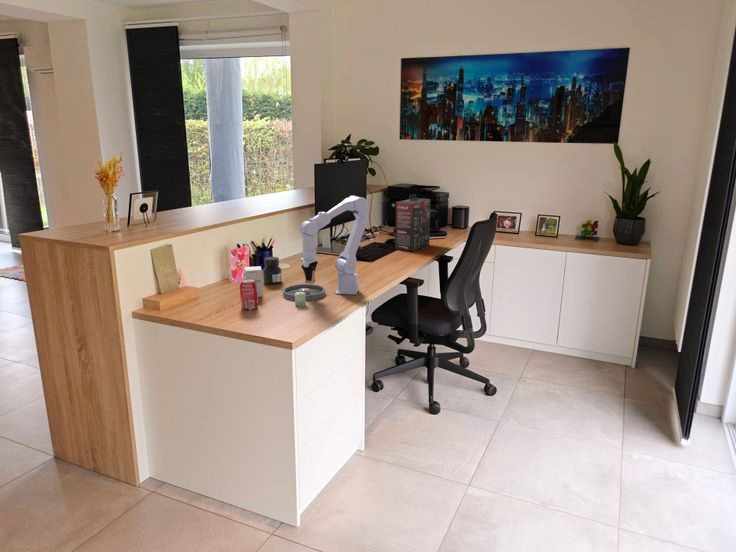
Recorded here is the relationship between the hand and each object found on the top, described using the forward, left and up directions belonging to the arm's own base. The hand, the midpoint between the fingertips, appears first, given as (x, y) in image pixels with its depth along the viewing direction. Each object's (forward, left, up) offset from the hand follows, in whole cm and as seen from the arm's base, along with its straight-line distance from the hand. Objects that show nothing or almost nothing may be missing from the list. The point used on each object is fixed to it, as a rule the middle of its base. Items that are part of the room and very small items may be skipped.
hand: (310, 279), depth 244 cm
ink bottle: (+24, -22, -9) cm, 34 cm away
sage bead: (+2, +11, -8) cm, 14 cm away
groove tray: (+4, -4, -8) cm, 10 cm away
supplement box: (+26, 0, -9) cm, 27 cm away
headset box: (-40, -112, -9) cm, 119 cm away
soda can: (+22, +18, -9) cm, 30 cm away
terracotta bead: (0, 0, -1) cm, 1 cm away
